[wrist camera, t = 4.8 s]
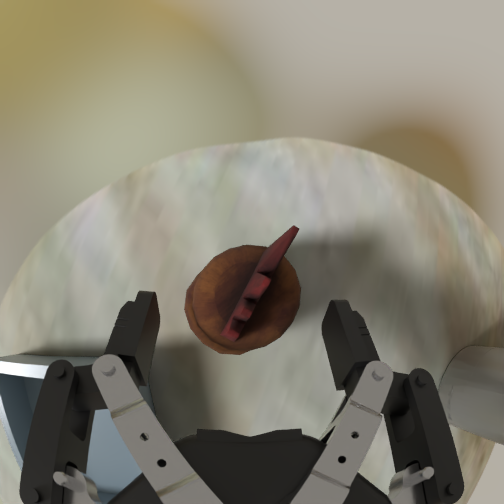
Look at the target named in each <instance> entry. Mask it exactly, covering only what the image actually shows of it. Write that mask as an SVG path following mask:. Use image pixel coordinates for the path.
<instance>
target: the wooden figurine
mask: <svg viewBox="0 0 504 504" xmlns="http://www.w3.org/2000/svg"><path fill="white" fill-rule="evenodd" d="M298 231H299V228H297V227H296V226H294V225H293V226H292V227H291V228H290V229H289V230H288V231H286V232H285V233H284V234H283V235H282V236H281V237H280V238H278V239H277V240H276V241H275V242H274V243H273V244H271V245H270V246H269V247H264V246H254V245H242V246H239V247H235V248H231V249H228V250H226V251H224V252H223V253H221V254H219V255H217V256H215V257H214V258H213V259H212V260H211V261H210V262H209V263H208V264H207V266H206V267H205V268H204V269H203V270H202V271H201V272H200V273H199V274H198V275H197V276H196V278H195V279H194V281H193V282H192V284H191V285H190V286H189V288H188V289H187V292H186V301H185V309H184V310H185V313H186V316H187V320H188V323H189V326H190V329H191V330H192V331H193V332H194V333H195V335H196V336H197V337H198V338H199V339H200V341H201V342H202V343H203V344H205V345H207V346H208V347H210V348H212V349H213V350H215V351H217V352H218V353H220V354H235V355H241V354H243V353H245V352H248V351H250V350H254V349H258V348H261V347H265V346H267V345H268V344H270V343H272V342H273V341H275V340H277V339H278V338H280V337H281V336H282V335H283V334H284V332H285V331H286V330H287V329H288V328H289V326H290V325H291V324H292V322H293V320H294V318H295V316H296V313H297V311H298V309H299V305H300V294H301V287H300V284H299V280H298V277H297V274H296V271H295V269H294V268H293V267H292V265H291V264H290V263H289V261H288V260H287V259H286V258H285V256H284V255H285V253H286V252H287V250H288V248H289V247H290V245H291V243H292V241H293V240H294V238H295V236H296V234H297V233H298Z"/></svg>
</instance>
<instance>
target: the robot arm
mask: <svg viewBox="0 0 504 504" xmlns="http://www.w3.org/2000/svg"><path fill="white" fill-rule="evenodd" d="M159 327H160V314H159V308H158V302H157V296H156V293H155V292H149V291H139V292H138V294H137V297H136V300H135V302H133V301H128V302H127V303H126V304H125V305H124V306H123V307H122V308H121V309H120V312H119V315H118V317H117V320H116V323H115V327H114V328H113V331H112V334H111V336H110V339H109V342H108V345H107V348H106V351H105V353H104V355H103V356H101V357H99V358H98V359H97V360H96V361H95V362H94V364H91V365H84V366H75V367H73V365H72V364H71V363H70V362H69V361H67V360H63V359H60V360H56V361H54V362H52V363H51V364H50V365H49V367H48V368H47V371H46V374H45V377H44V380H43V383H42V386H41V389H40V393H39V396H38V399H37V403H36V407H35V410H34V414H33V418H32V422H31V426H30V430H29V435H28V439H27V444H26V449H25V455H24V460H23V467H22V473H21V481H20V497H21V500H22V502H23V503H24V504H103V503H102V502H101V501H100V499H99V497H98V494H97V487H96V484H95V482H94V481H93V479H92V478H91V477H89V476H88V475H86V471H87V462H88V453H89V446H90V439H91V432H92V426H93V420H94V415H95V410H103V409H109V411H110V413H111V418H112V420H113V422H114V424H115V426H116V428H117V430H118V432H119V434H120V436H121V437H122V439H123V441H124V443H125V444H126V446H127V448H128V450H129V451H130V453H131V455H132V456H133V458H134V460H135V461H136V463H137V464H138V466H139V467H140V469H141V471H142V473H141V474H140V475H138V476H137V477H136V478H135V479H134V480H133V481H132V482H131V483H130V484H128V485H127V486H126V487H125V488H124V489H123V490H121V491H120V492H119V493H118V494H117V495H116V496H114V497H113V498H112V499H111V500H110V501H109V502H108V503H107V504H453V503H455V502H457V501H458V500H459V499H460V498H461V496H462V494H463V491H464V482H463V477H462V472H461V468H460V464H459V460H458V456H457V452H456V448H455V444H454V441H453V437H452V434H451V430H450V427H449V424H451V425H453V426H455V427H458V428H460V429H463V430H465V431H467V432H470V433H472V434H475V435H478V436H480V437H483V438H486V439H488V440H491V441H494V442H496V443H499V444H502V445H504V348H500V347H486V346H468V347H466V348H464V349H462V350H461V351H460V352H459V353H458V354H457V355H456V356H455V357H454V358H453V359H452V361H451V363H450V364H449V366H448V367H447V369H446V371H445V373H444V375H443V378H442V381H441V384H440V388H439V392H438V391H437V388H436V386H435V383H434V380H433V378H432V376H431V374H430V373H429V372H428V371H426V370H424V369H421V368H417V369H414V370H412V371H411V373H410V374H403V373H397V372H393V371H392V370H391V368H390V367H389V366H388V365H387V364H386V363H384V362H381V361H380V359H379V356H378V354H377V351H376V348H375V346H374V343H373V341H372V338H371V336H370V333H369V331H368V329H367V326H366V324H365V321H364V319H363V317H362V316H361V315H360V314H359V313H358V312H357V311H352V310H351V307H350V305H349V302H348V301H347V300H331V301H330V303H329V306H328V308H327V311H326V314H325V316H324V319H323V322H322V336H323V339H324V343H325V347H326V351H327V355H328V358H329V362H330V366H331V370H332V374H333V378H334V382H335V386H336V390H345V393H346V395H345V397H344V398H343V400H342V402H341V404H340V406H339V407H338V409H337V411H336V413H335V415H334V416H333V418H332V420H331V422H330V423H329V425H328V427H327V428H326V430H325V431H324V432H323V434H322V435H321V437H320V438H319V440H318V439H316V438H314V437H311V436H307V435H303V434H302V430H301V429H289V430H275V431H272V432H268V433H264V434H260V435H256V436H252V437H249V436H244V435H240V434H235V433H231V432H227V431H224V430H205V429H197V435H191V436H188V437H185V438H182V439H180V440H178V441H176V442H175V443H173V442H172V441H171V439H170V438H169V436H168V435H167V433H166V432H165V431H164V429H163V428H162V426H161V425H160V423H159V422H158V420H157V419H156V417H155V415H154V414H153V412H152V411H151V409H150V408H149V406H148V404H147V403H146V401H145V400H144V399H143V397H142V396H141V394H140V392H139V386H147V383H148V378H149V373H150V368H151V363H152V358H153V354H154V349H155V344H156V340H157V336H158V331H159ZM380 413H382V414H384V418H385V422H386V427H387V431H388V436H389V441H390V446H391V450H392V456H393V461H394V466H395V472H396V474H395V475H394V476H393V477H392V479H391V482H390V486H389V491H390V492H389V494H388V496H387V495H386V494H384V493H383V492H382V491H380V490H379V489H378V488H377V487H375V486H374V485H373V484H372V483H370V482H369V481H368V480H367V479H365V478H364V477H363V476H362V475H361V474H359V473H358V470H359V468H360V466H361V464H362V462H363V460H364V458H365V456H366V454H367V452H368V450H369V448H370V446H371V443H372V441H373V439H374V437H375V434H376V432H377V430H378V428H379V425H380V423H381V420H382V415H380Z"/></svg>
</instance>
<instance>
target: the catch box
mask: <svg viewBox="0 0 504 504" xmlns="http://www.w3.org/2000/svg"><path fill="white" fill-rule="evenodd" d="M98 358H99V357H71V356H41V355H25V354H16V355H10V356H4V357H0V417H1V420H2V423H3V426H4V429H5V432H6V435H7V438H8V440H9V443H10V446H11V448H12V451H13V453H14V456H15V458H16V460H17V463H18V465H19V467H20V469H21V471H22V467H23V460H24V455H25V449H26V444H27V439H28V435H29V430H30V426H31V422H32V418H33V414H34V410H35V407H36V403H37V399H38V396H39V393H40V389H41V386H42V383H43V380H44V377H45V374H46V371H47V368H48V367H49V365H50V364H51V363H52V362H54V361H56V360H60V359H63V360H67V361H69V362H70V363H71V364H72V365H73V367H75V366H84V365H91V364H94V362H95V361H96V360H97V359H98ZM139 392H140V394H141V396H142V397H143V399H144V400H145V401H146V403H147V404H148V406H149V408H150V409H151V411H152V412H153V414H154V415H155V417H156V414H155V410H154V405H153V401H152V396H151V392H150V387H149V382H148V383H147V386H139ZM156 419H157V418H156ZM141 473H142V471H141V469H140V467H139V466H138V464H137V463H136V461H135V460H134V458H133V456H132V455H131V453H130V451H129V450H128V448H127V446H126V444H125V443H124V441H123V439H122V437H121V436H120V434H119V432H118V430H117V428H116V426H115V424H114V422H113V420H112V418H111V413H110V411H109V409H103V410H95V415H94V420H93V426H92V432H91V439H90V446H89V453H88V462H87V471H86V475H88V476H89V477H91V478H92V479H93V481H94V482H95V484H96V487H97V494H98V497H99V499H100V501H101V502H102V503H103V504H107V503H108V502H109V501H110V500H111V499H112V498H113V497H114V496H116V495H117V494H118V493H119V492H120V491H121V490H123V489H124V488H125V487H126V486H127V485H128V484H130V483H131V482H132V481H133V480H134V479H135V478H136V477H137V476H138V475H140V474H141Z"/></svg>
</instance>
